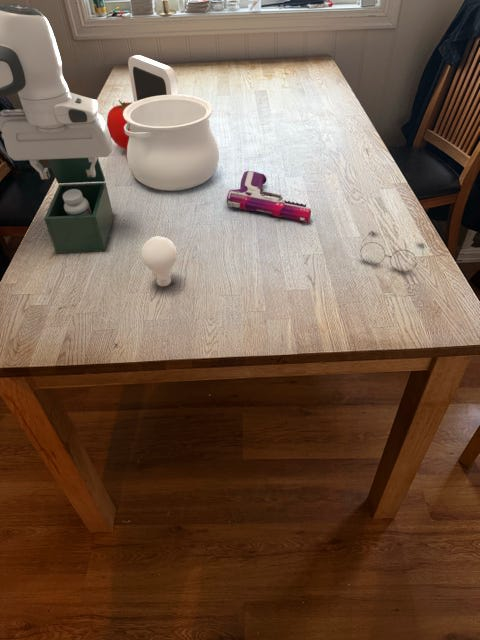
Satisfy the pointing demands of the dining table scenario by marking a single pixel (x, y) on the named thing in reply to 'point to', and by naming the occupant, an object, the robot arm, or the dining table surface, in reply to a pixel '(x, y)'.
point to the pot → (171, 141)
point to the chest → (80, 220)
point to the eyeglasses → (386, 255)
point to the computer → (151, 78)
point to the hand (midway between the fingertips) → (69, 177)
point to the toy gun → (264, 199)
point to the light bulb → (160, 258)
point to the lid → (75, 170)
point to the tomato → (118, 125)
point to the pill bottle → (76, 203)
